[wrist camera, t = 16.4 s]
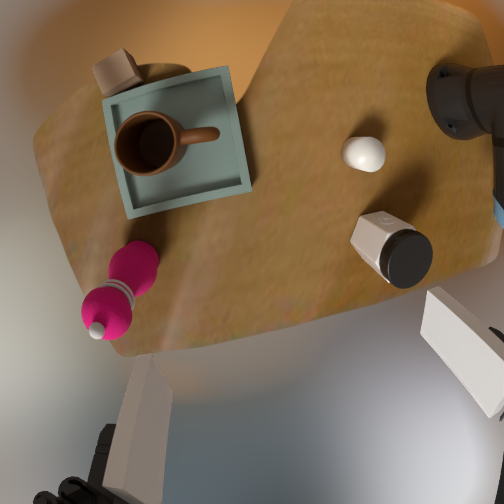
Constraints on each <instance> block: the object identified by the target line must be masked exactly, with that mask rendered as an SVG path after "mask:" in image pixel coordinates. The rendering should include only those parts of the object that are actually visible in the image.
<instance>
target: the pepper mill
mask: <svg viewBox="0 0 504 504" xmlns="http://www.w3.org/2000/svg"><path fill="white" fill-rule="evenodd" d="M158 264H159V258H158V254H157V252H156V250H155V249H154V248H153V247H152V246H151V245H150V244H148V243H147V242H144V241H133V242H130V243H129V244H127V245H126V246H125V247H123V248H121V249H119V250H118V251H117V252H116V253H115V254H114V256H113V257H112V259H111V261H110V264H109V269H108V277H109V280H106V281H104V282H102V283H101V284H100V286H99V287H98V288H96V289H94V290H92V291H90V292H89V294H88V295H87V296H86V297H85V299H84V301H83V305H82V309H81V310H82V311H81V313H82V319H83V322H84V324H85V326H86V328H87V329H88V330H89V333H90V335H91V337H93V338H94V339H105V340H112V339H117V338H119V337H121V336H122V335H123V334H124V333H125V332H126V331H127V330H128V328H129V327H130V324H131V321H132V310H133V308H134V305H135V298H134V297H137V296H140V295H142V294H144V293H145V292H146V291H148V290H149V289H150V288H151V286H152V285H153V283H154V282H155V279H156V276H157V268H158Z"/></svg>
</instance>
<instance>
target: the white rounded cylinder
mask: <svg viewBox="0 0 504 504" xmlns="http://www.w3.org/2000/svg"><path fill="white" fill-rule="evenodd" d="M341 156H342V159H343V161H344V162H345V164H346V165H348V166H349V167H351V168H355V169H359V170H363V171H367V172H375V171H377V170H379V169H380V168H381V167H382V165H383V164H384V161H385V149H384V147H383V145H382V143H381V142H380V141H379V140H377V139H376V138H373V137H351V138H348V139H347V140H346V141H345V142H344V143H343V145H342V148H341Z"/></svg>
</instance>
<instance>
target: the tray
mask: <svg viewBox="0 0 504 504" xmlns="http://www.w3.org/2000/svg"><path fill="white" fill-rule="evenodd" d="M102 105H103V111H104V117H105V123H106V128H107V134H108V139H109V144H110V149H111V153H112V158H113V163H114V167H115V171H116V176H117V180H118V184H119V188H120V192H121V196H122V199H123V203H124V207H125V210H126V214H127V217H128V220H129V219H133V218H137V217H140V216H144V215H148V214H152V213H156V212H160V211H164V210H169V209H173V208H177V207H181V206H186V205H190V204H194V203H199V202H203V201H208V200H213V199H217V198H222V197H227V196H232V195H237V194H242V193H247V192H252V188H251V182H250V177H249V172H248V166H247V161H246V156H245V150H244V145H243V140H242V134H241V129H240V124H239V119H238V114H237V108H236V103H235V98H234V93H233V88H232V83H231V78H230V73H229V68H228V66H222V67H216V68H211V69H206V70H202V71H197V72H192V73H188V74H184V75H180V76H176V77H172V78H168V79H164V80H161V81H157V82H154V83H150V84H147V85H144V86H141V87H138V88H135V89H132V90H129V91H126V92H123V93H120V94H117V95H115V96H112V97H109V98H107V99H104V100H102ZM141 111H156V112H161V113H163V114H166V115H168V116H170V117H171V118H173V119H175V120H176V121H178V122H179V123H180V124H181V125H182V126H183V128H184V129H185V130H187V129H192V128H199V127H210V126H211V127H216V128H218V129H219V131H220V136H219V138H218V139H217V140H215V141H210V142H203V143H196V144H189V145H188V146H187V150H186V153H185V155H184V157H183V158H182V159H181V161H180V162H179V163H178V164H176V165H175V166H174V167H172V168H170V169H168V170H166V171H164V172H162V173H159V174H156V175H152V176H136V175H133V174H131V173H129V172H127V171H126V170H125V169H124V168H123V167H122V166H121V165H120V164H119V162H118V160H117V158H116V155H115V151H114V141H115V136H116V133H117V131H118V129H119V127H120V126H121V124H122V123H123V122H124V121H125V120H126V119H127V118H128V117H130V116H131V115H133V114H135V113H137V112H141Z"/></svg>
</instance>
